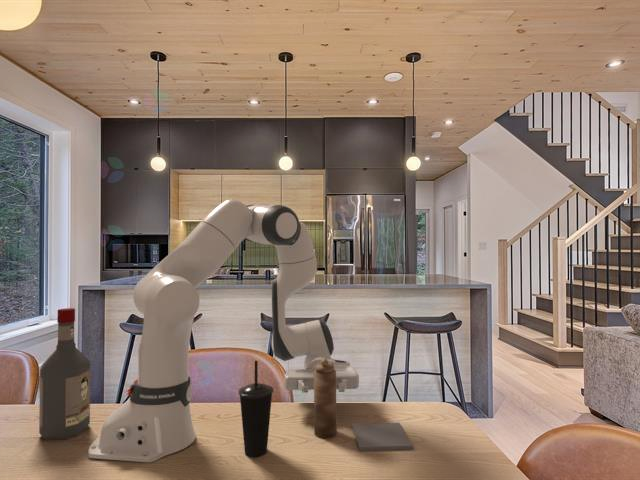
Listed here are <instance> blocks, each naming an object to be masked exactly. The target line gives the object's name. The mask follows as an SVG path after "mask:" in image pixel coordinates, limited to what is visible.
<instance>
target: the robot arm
mask: <svg viewBox="0 0 640 480" xmlns="http://www.w3.org/2000/svg"><path fill="white" fill-rule="evenodd" d="M244 240H246V241H248V242H252V243H253V242H255V243H256V244H257V243H258V244H260V245H273V246H274V247H275V250H276V253H277V259H278V266H279V268H278V269H279V271H278V272H277V273H278V274H277V276H276V277H275V278H274V279H273V281H272V284H271V314H272V316H271V318H272V335H271V349H272V353H273V354H274V356H275V357H276V358H278V359H279V360H280V361H284V362H286V361H290V360H294V359H295V358H299V357H303V356H305V357H304V368H299V369H297V368H296V369H295V368H294V369H293V368H292V369H288V371H286V373H284V374H283V379H284V389H286V390H288V391H300V392H301V393H306V394H307V393H309V391H310V390H313V391H314V370H316V365H318V364H321V361H322V360H323V359H327V360H328V364H332V365H334V370H336V390H338V393H345V391H346V390H354V389H358V388H359V387H360V377H359V373H358V370H356V368H355V367H353V366H351V363H350V361H348V360H347V361H346V360H340V359H335V358H332V354H333V352H334V349H335V348H334V341H333V337H332V333H331V330H330V328H329V326H328V325H327V323H325V322H324V321H323V320H321V319H315V320H311V321H307V322H302V323H298V324H294V325H287V324H286V302H287V301H288V300H289V298H291V297H292V296H293V295H294V294H296V293H298V292H299V291H301V290H302V289H304V288H306V287H307V286H309V284H311V282H312V281H313V280H314V278H315V277H316V275H317V272H318V266H317V265H318V263H317V257H316V251H315V246H314V243H313V240H312V237H311V234H310V232H309V229H308V227H307V225H306V224H305V223H304V222H302V221H300V220H299V217H298V215H297V214H296V212H295V211H294V210H292V208H290V207H288V206H286V205H282V204H276V205H275V204H269V203H268V204H267V203H260V204H259V203H258V204H250V205H249V204H248V205H246V204H245V203H243V202H242V201H240V200H238V199H233V198H232V199H231V198H230V199H226V200H224V201H223V202H222V203H220V204H218V205H217V206H216V207H215V208H213V209H212V210H211V211H210V212H209V213H208V214H207V215H206V216H205V217H203V219H202V220H201V221H200V222H199V223H198V224H197V225H196V226H195V228H194V229H192V231H191V232H190V233H189V234H188V235H187V236H186V237H185V239H184V240H182V241H181V242H180V244H179V245H178V246H176V248H175V249H174V250H172V251H171V252H169V254H168V255H166V256H165V257H164V258H163V259H162V260H161V261H160V262H158V263H157V264H156V265H155V266H154V267H153V268H152V269H151V270H150V271H149V272H147V274H146V275H145V276H144V277H142V278H141V279H140V280H138V282H137V283H136V285H135V287H134V289H133V294H132V295H133V303H134V305H135V307H136V309H137V310H138V311H139V312H140V313H141V314H142V315H143V324H142V325H143V326H142V332H141V338H140V343H139V346H138V350H137V354H138V355H137V361H138V362H137V364H138V365H137V378H136V379H135V380H134V381H133V384H131V385H130V386H129V388H128V389H127V390H126V392H127V393H126V396H129V399H128V400H126V401H125V402H124V403H122V404H121V405H120V406H119V407H118V408H116V409H115V410H114V411H113V412H111V414H109V416H108V417H107V418H106V419H105V420H104V422H103V425H102V427H101V432H100V435H98V436H97V438H95V439H94V440H93V442H92V443H91V444H90V446H89V447H88V451H87V457H88V458H89V459H98V460H109V461H110V460H111V461H122V462H123V461H124V462H125V461H126V462H135V463H136V462H137V463H139V462H140V463H153V462H156V461H158V460H159V459H161V458H164V457H165V456H168V455H171V454H175V453H177V452H179V451H181V450H184V449H186V448H187V447H189V446H190V445H191V444H193V443H194V441H195V440H196V438H197V437H196V435H197V434H196V432H195V430H194V425H193V422H192V421H193V420H192V413H191V407H190V403H191V398H192V385H191V377H190V376H189V374H190V373H189V371H190V370H189V369H190V368H189V365H190V364H189V362H190V357H189V355H190V352H189V351H190V341H191V334H192V329H193V325H194V319H195V315H196V314H197V312H198V309H199V307H200V295H199V293H198V289H197V288H198V287H199V286H201V285H202V283H204V282H205V281H206V280H209V278H210V277H212V276H214V275H215V274H216V273H217V272H218V271H219V270H220V268H221V267H222V266H223V265H224V263H225V262H226V261H227V260H228V259H229V257H230V256H231V255H232V254H233V253H234V251H236V249H237V248H238V247H239V246H240V244H241V243H242V242H243V241H244Z"/></svg>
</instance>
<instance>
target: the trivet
mask: <svg viewBox="0 0 640 480" xmlns="http://www.w3.org/2000/svg"><path fill="white" fill-rule="evenodd" d="M351 425H352V426H351V427H352V430H353V431H352V432H354V436H355V440H356V443H357V446H358V449H359V450H358V451H360V452H364V451H366V452H367V451H369V452H370V451H393V450H394V451H397V450H399V451H400V450H401V451H403V450H414V445H413V443H412V441H411V440H410V438H409V437H408V435H407V432H406V431H405V430H404V428H403V426H402V425H401V423H400V422H372V423H370V422H369V423H368V422H367V423H366V422H365V423H352V424H351Z"/></svg>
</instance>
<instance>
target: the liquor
mask: <svg viewBox="0 0 640 480" xmlns="http://www.w3.org/2000/svg"><path fill="white" fill-rule="evenodd" d="M75 322H76V308H74V307H73V308H71V307H69V308H59V309H57V322H56V323H57V328H58V329H57V344H56V347H55V348H56V349H55V350H54V351H53V352H52V353H51V354H50V355H49V357H47V359H46V360H44V362H43V363H42V365H41V367H40V369H39V410H38V411H39V420H38V421H39V425H38V427H39V430H38V432H39V434H40V436H41V437H42V438H43V440H67V439H70V438H69V437H71V438H73V436H74V437H77V436H78V435H79V434H81V432H83V431H84V430H86V429H87V428H88V427H89V425H90V423H91V422H90V421H91V362H90V359H89V358H88V357H87V356H86V355H85V354H84V353H82V351H80V350H79V349H78V348H77V347H76V345H77V344H76V342H75ZM66 438H67V439H66Z"/></svg>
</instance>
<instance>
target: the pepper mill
mask: <svg viewBox="0 0 640 480" xmlns="http://www.w3.org/2000/svg"><path fill="white" fill-rule="evenodd" d="M313 414H314V415H313V418H314V419H313V420H314V421H313V422H314V424H313V427H314V432H313V433H314V436H315V437H316V438H320V439H331V438H334V437H336V436H337V435H338V434H337V432H338V431H337V389H336V370H334V365H332V364H328V360H327V359H323V360H322V361H321V364H318V365H316V370H314V390H313Z"/></svg>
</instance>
